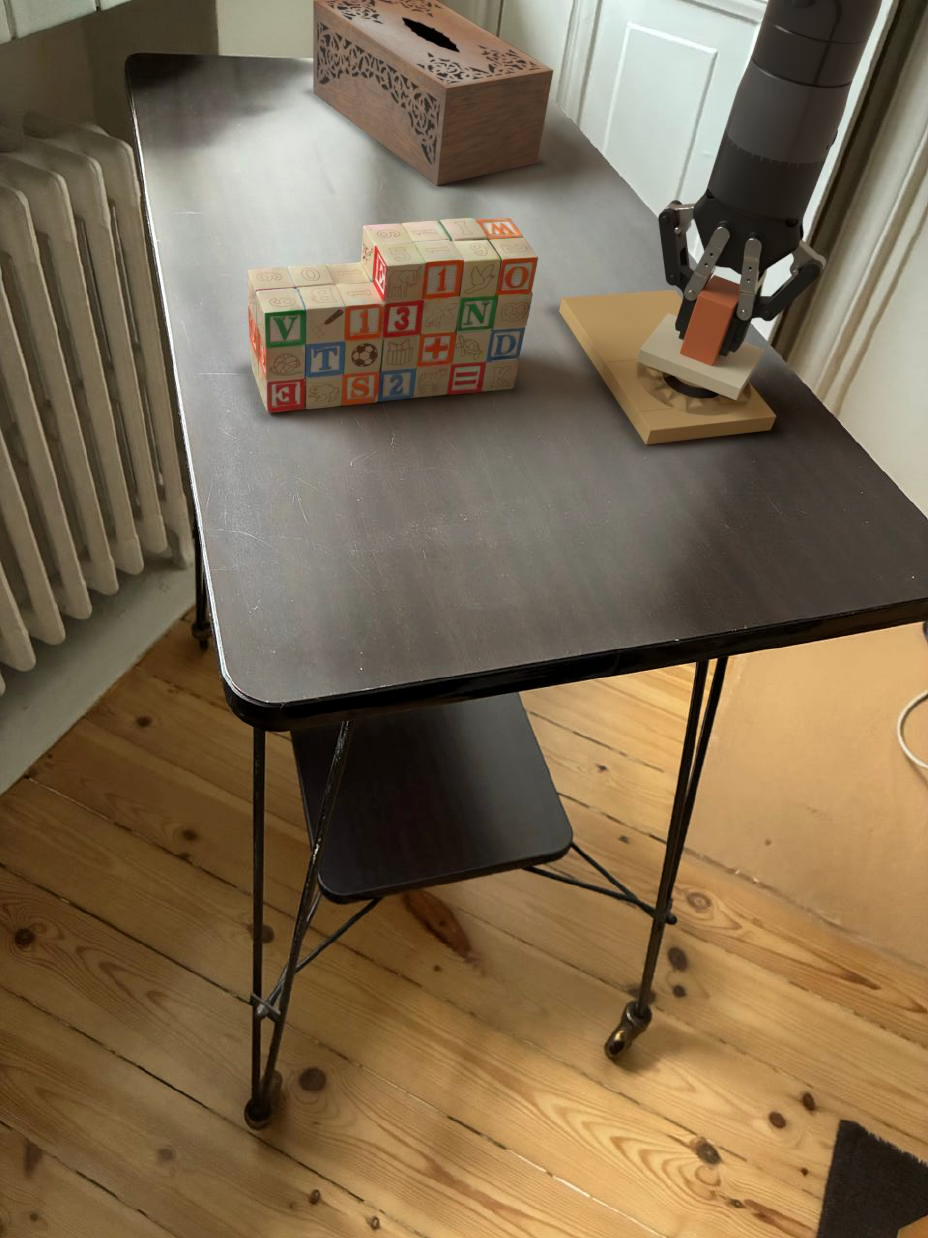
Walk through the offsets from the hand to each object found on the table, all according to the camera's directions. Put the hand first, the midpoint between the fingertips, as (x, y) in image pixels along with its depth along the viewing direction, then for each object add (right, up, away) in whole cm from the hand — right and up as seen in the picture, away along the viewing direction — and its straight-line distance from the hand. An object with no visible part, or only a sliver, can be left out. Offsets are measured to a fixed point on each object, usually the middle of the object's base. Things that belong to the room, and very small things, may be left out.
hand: (705, 342), depth 83 cm
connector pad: (0, -2, +2) cm, 3 cm away
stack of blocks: (-27, -3, 0) cm, 27 cm away
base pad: (-3, -1, +6) cm, 7 cm away
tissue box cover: (-25, +35, +34) cm, 55 cm away
